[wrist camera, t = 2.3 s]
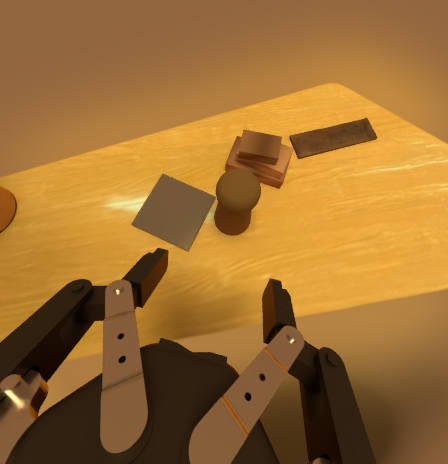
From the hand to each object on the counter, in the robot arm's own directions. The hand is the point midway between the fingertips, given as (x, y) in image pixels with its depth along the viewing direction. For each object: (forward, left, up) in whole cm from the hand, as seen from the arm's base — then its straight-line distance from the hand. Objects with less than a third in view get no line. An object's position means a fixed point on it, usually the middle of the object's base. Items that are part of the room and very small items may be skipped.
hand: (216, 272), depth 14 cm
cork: (-2, +9, -14) cm, 17 cm away
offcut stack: (-2, +20, -14) cm, 25 cm away
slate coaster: (-11, +6, -14) cm, 19 cm away
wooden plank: (+9, +32, -15) cm, 37 cm away
